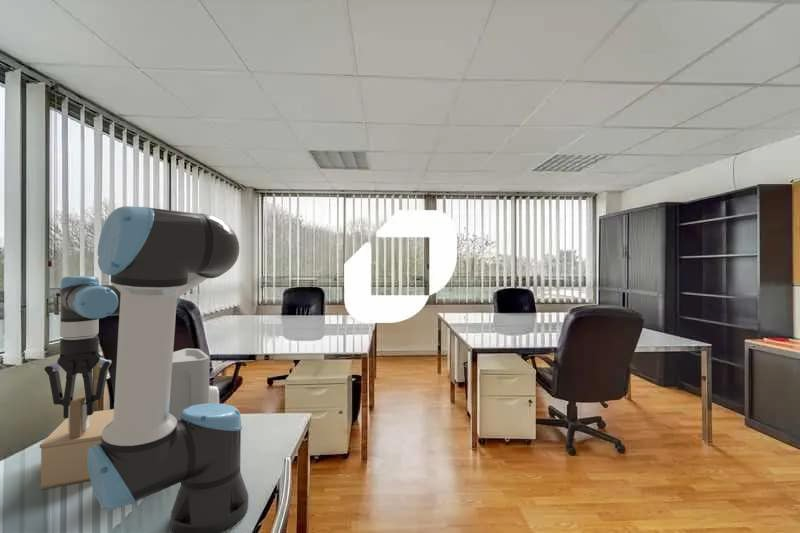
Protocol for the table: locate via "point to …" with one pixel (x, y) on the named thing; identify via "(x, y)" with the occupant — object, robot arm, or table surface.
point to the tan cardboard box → (79, 426)
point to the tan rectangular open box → (65, 464)
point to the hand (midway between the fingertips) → (79, 428)
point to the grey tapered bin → (188, 380)
